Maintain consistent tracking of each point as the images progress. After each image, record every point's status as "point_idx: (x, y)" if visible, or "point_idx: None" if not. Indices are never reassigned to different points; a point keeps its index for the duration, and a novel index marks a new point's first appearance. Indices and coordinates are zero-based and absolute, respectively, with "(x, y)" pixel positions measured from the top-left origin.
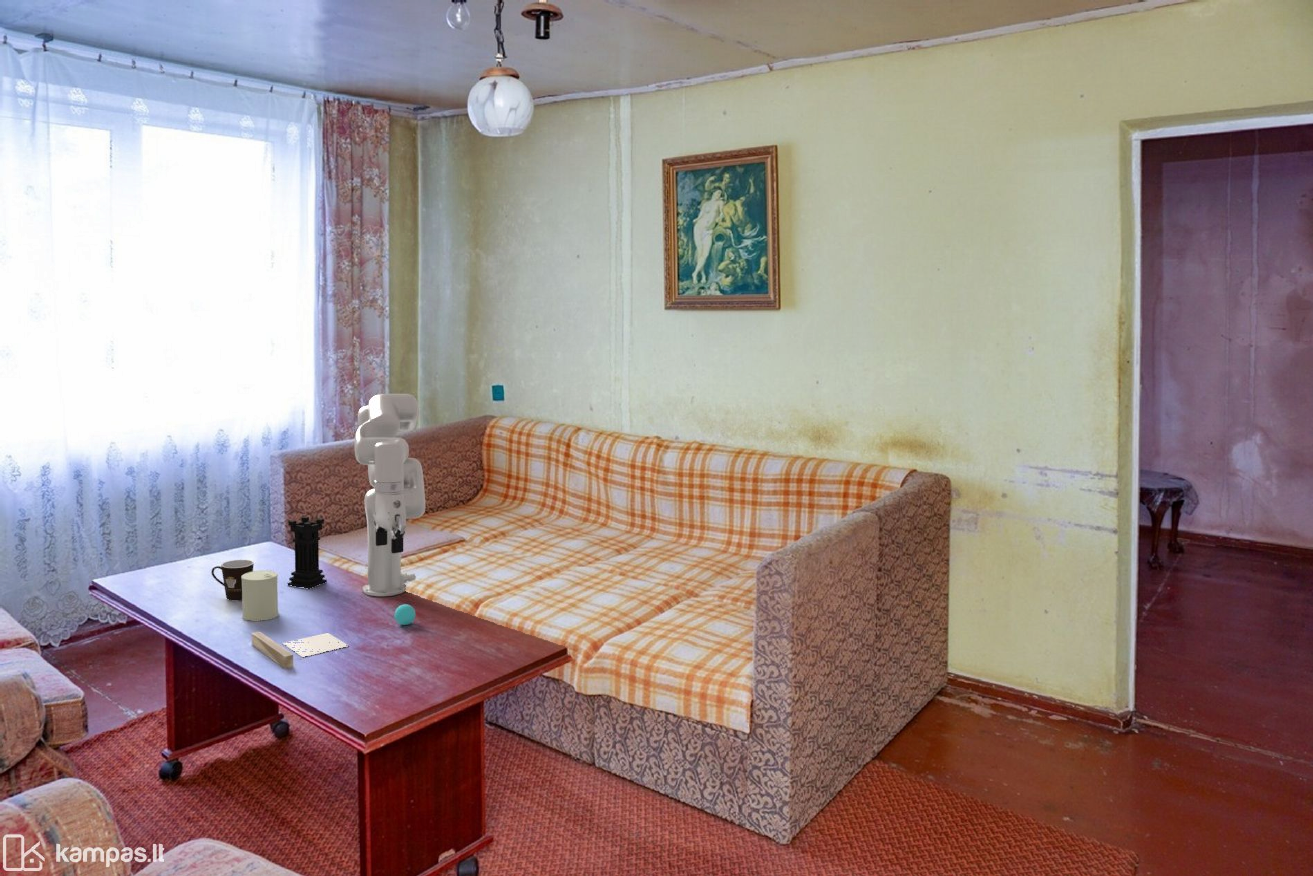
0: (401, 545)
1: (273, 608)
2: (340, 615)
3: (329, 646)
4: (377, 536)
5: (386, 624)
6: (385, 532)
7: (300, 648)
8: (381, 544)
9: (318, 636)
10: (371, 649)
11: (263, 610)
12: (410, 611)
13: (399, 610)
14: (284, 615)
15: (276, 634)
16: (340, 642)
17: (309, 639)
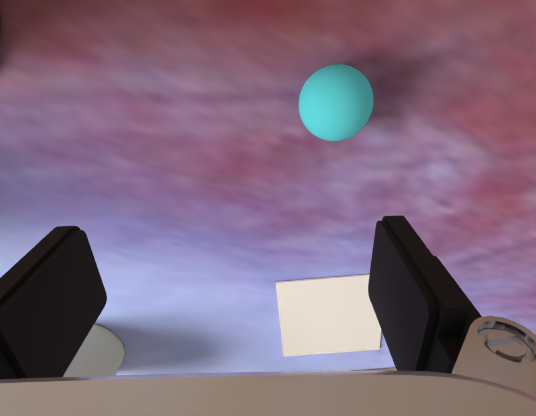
0: (449, 277)
1: (103, 353)
2: (153, 220)
3: (361, 303)
4: (67, 364)
5: (293, 145)
6: (14, 327)
7: (333, 342)
8: (94, 274)
9: (287, 303)
10: (437, 241)
11: (114, 371)
12: (372, 99)
13: (349, 135)
14: (101, 315)
15: (222, 350)
16: (353, 280)
17: (294, 319)
